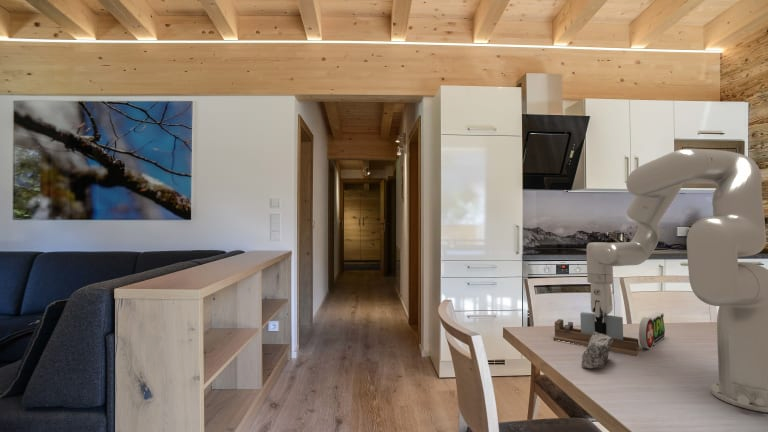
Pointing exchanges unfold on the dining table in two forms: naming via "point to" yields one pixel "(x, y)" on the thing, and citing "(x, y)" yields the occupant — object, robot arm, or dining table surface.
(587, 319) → the panel
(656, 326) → the sign
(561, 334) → the rail
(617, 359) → the dining table surface
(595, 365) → the rock
